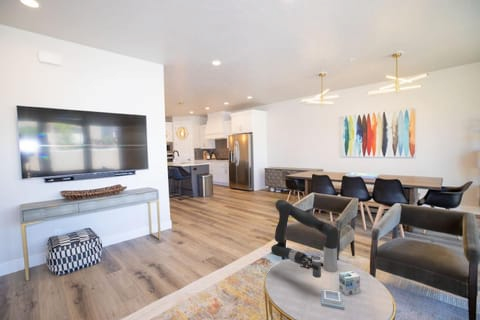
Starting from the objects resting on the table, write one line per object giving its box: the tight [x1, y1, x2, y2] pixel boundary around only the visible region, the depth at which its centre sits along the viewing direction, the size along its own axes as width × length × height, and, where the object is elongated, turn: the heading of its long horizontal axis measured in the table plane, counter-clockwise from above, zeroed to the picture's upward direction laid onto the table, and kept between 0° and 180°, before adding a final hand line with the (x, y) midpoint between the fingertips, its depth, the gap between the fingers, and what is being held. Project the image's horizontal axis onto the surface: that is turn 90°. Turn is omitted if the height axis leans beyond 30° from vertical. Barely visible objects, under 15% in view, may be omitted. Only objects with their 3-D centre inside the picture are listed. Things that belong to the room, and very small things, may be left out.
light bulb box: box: [338, 270, 361, 296], centre depth 140 cm, size 11×7×11 cm, turn 101°
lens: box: [311, 255, 322, 279], centre depth 137 cm, size 5×5×11 cm
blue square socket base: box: [320, 289, 345, 311], centre depth 132 cm, size 12×12×4 cm
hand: (320, 266), depth 135 cm, fingers closed on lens, 5 cm apart
